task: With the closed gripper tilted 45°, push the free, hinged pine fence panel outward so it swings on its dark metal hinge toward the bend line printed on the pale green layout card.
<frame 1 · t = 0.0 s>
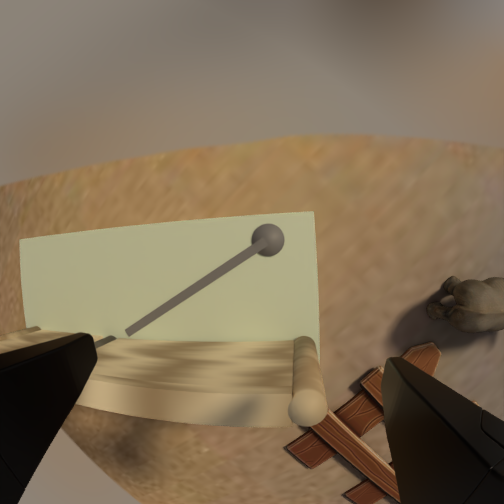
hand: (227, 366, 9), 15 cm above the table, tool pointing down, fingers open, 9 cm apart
hinged fence panel: (188, 371, 19), point 6 cm above the table, hinge at 0.0°
decorative fence: (414, 453, 23), on the table
layout card: (114, 341, 26), on the table
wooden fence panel: (33, 351, 21), on the layout card
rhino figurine: (489, 298, 22), on the table
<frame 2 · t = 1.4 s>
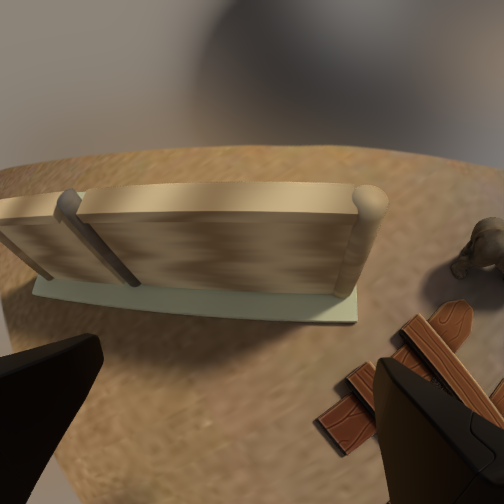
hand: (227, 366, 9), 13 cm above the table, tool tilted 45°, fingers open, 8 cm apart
hinged fence panel: (233, 249, 19), point 6 cm above the table, hinge at 0.0°
decorative fence: (466, 445, 16), on the table
layout card: (137, 281, 25), on the table
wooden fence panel: (54, 244, 21), on the layout card
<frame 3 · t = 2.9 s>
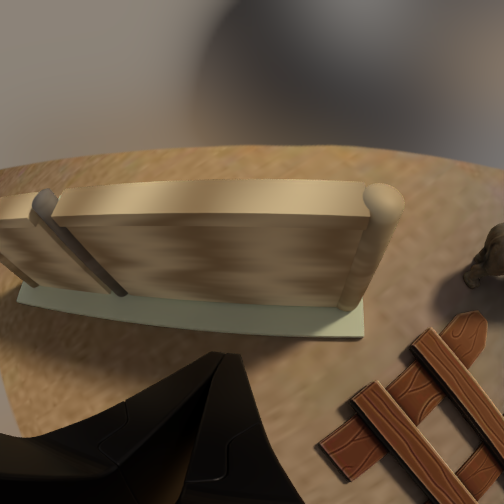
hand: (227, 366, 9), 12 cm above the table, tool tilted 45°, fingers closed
hinged fence panel: (226, 257, 17), point 6 cm above the table, hinge at 0.0°
decorative fence: (477, 466, 14), on the table
layout card: (125, 290, 23), on the table
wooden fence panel: (36, 250, 19), on the layout card
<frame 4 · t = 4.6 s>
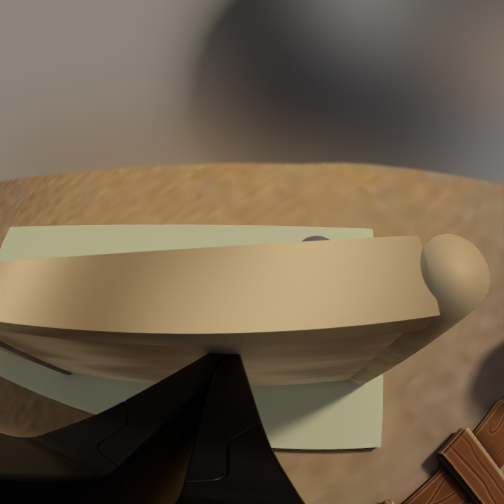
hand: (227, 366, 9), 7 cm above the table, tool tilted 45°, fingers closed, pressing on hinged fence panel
hinged fence panel: (181, 350, 10), point 6 cm above the table, hinge at 5.9°, touching gripper
layout card: (71, 365, 16), on the table
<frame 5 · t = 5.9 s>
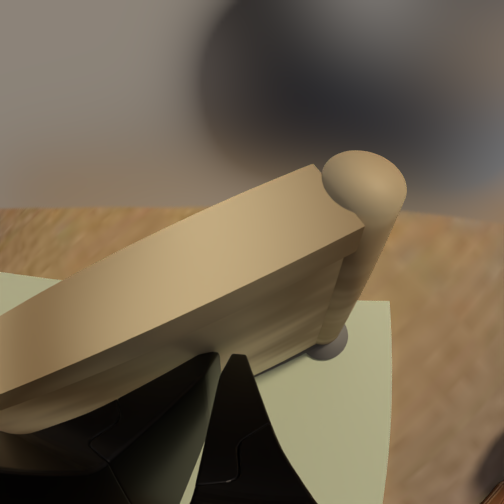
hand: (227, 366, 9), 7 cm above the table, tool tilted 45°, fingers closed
hinged fence panel: (141, 376, 9), point 6 cm above the table, hinge at 31.4°, touching gripper
layout card: (57, 439, 13), on the table
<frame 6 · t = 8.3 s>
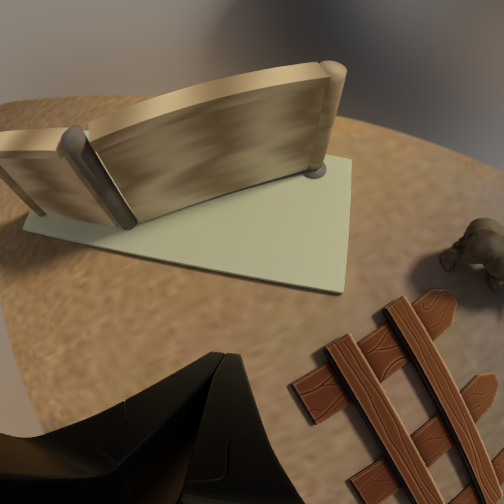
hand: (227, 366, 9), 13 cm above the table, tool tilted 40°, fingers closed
hinged fence panel: (229, 143, 21), point 6 cm above the table, hinge at 31.4°
decorative fence: (431, 435, 19), on the table
layout card: (130, 224, 25), on the table
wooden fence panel: (52, 180, 20), on the layout card
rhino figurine: (492, 274, 23), on the table
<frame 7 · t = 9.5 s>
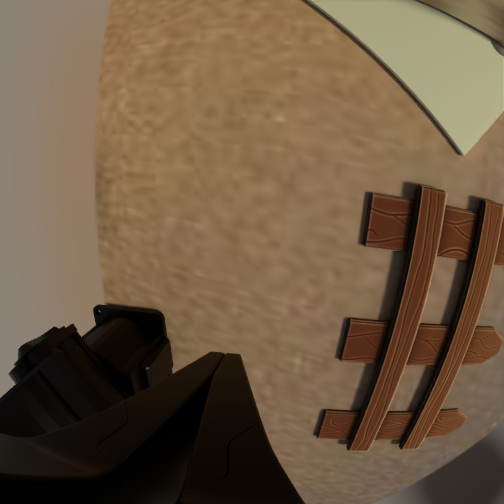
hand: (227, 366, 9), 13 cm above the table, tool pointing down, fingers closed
decorative fence: (428, 338, 22), on the table
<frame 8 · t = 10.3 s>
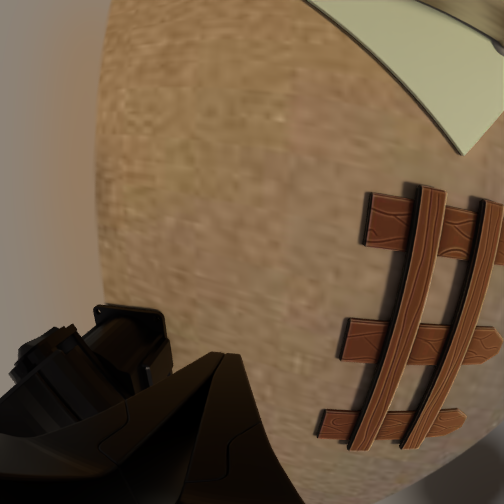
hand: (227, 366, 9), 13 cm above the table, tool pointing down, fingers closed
decorative fence: (428, 338, 22), on the table
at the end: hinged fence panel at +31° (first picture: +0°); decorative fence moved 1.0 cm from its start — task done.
